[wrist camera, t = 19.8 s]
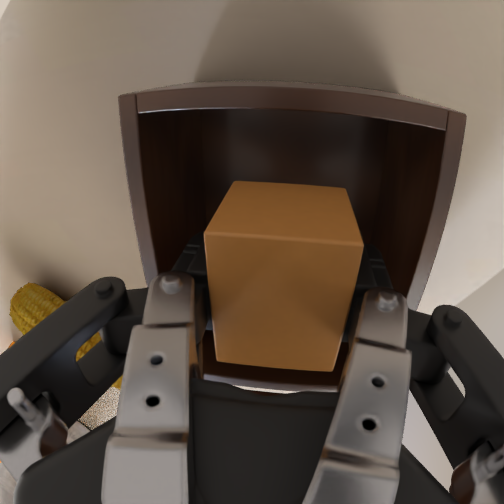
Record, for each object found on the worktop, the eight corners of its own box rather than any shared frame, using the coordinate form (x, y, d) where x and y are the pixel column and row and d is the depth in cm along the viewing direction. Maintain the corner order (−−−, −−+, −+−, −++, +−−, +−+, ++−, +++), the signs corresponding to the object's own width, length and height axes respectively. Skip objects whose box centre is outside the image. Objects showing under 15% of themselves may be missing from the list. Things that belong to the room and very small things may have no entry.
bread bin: (191, 82, 17) (117, 95, 10) (399, 94, 16) (467, 114, 9) (205, 288, 26) (170, 375, 18) (363, 301, 24) (378, 394, 17)
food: (33, 297, 31) (5, 331, 26) (33, 264, 28) (-1, 299, 23) (188, 387, 34) (174, 430, 29) (207, 364, 31) (192, 413, 26)
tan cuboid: (233, 180, 11) (202, 232, 8) (346, 187, 11) (365, 244, 7) (236, 291, 14) (216, 362, 11) (329, 298, 13) (333, 372, 10)
